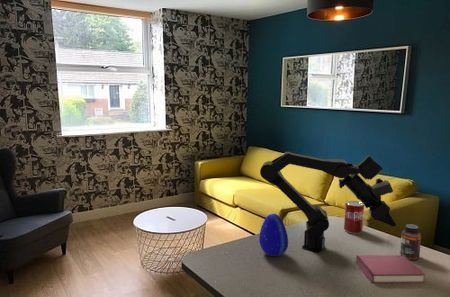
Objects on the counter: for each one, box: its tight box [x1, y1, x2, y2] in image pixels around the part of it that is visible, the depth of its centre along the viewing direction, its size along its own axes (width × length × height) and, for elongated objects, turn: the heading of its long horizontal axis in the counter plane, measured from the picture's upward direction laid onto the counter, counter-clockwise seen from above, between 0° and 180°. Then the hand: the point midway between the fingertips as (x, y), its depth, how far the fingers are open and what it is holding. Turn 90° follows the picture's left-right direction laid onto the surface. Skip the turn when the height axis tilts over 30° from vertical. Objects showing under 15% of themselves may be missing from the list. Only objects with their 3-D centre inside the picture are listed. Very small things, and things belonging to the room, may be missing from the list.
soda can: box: [343, 200, 365, 235], centre depth 138 cm, size 7×7×12 cm
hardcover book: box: [355, 254, 426, 284], centre depth 106 cm, size 16×12×3 cm
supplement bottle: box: [399, 223, 422, 261], centre depth 116 cm, size 6×6×11 cm
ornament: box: [258, 213, 289, 257], centre depth 118 cm, size 11×9×15 cm
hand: (391, 220), depth 116 cm, fingers open, 9 cm apart
